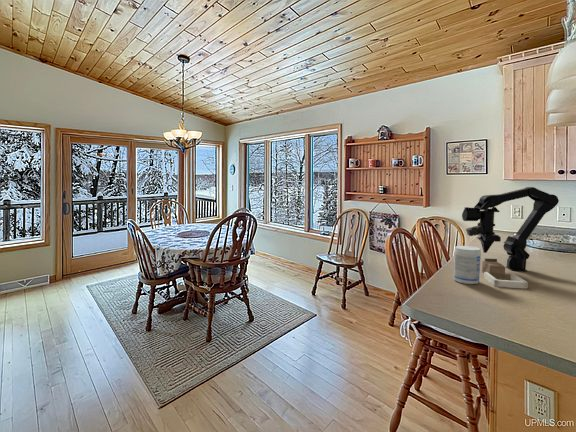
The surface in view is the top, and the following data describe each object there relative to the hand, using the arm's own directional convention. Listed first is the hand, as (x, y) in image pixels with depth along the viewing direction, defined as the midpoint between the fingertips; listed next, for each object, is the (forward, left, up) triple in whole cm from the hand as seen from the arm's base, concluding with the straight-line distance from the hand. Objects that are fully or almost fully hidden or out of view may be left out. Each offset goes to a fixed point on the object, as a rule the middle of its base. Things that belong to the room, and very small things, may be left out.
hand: (484, 252), depth 146 cm
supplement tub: (+15, +25, -8) cm, 30 cm away
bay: (0, +22, -8) cm, 23 cm away
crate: (0, +10, -8) cm, 13 cm away
